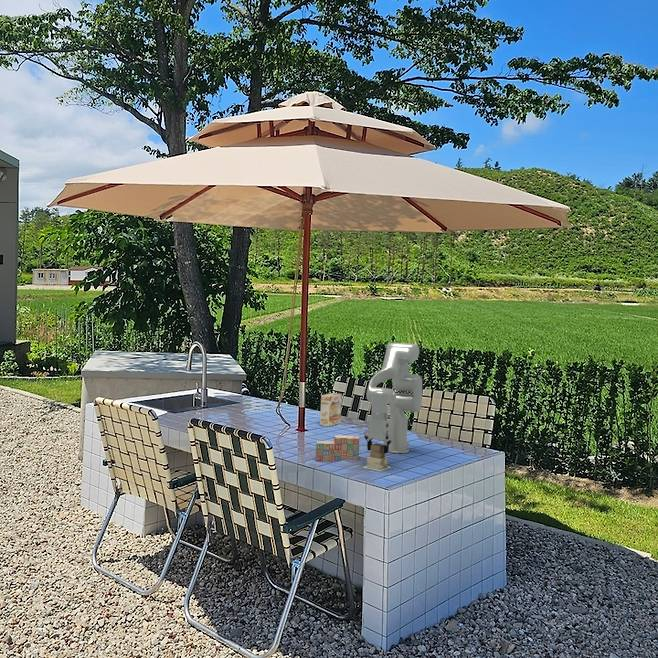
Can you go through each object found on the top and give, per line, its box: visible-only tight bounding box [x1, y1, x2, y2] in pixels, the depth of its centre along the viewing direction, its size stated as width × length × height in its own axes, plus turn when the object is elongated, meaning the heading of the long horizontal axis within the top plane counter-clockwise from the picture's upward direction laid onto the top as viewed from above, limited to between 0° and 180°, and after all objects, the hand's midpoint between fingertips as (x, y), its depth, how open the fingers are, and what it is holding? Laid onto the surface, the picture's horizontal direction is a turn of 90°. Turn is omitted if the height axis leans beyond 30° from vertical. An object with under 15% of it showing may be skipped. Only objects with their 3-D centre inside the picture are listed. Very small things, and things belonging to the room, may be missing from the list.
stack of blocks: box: [315, 434, 360, 462], centre depth 349 cm, size 21×6×12 cm, turn 94°
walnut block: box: [370, 442, 386, 459], centre depth 332 cm, size 5×5×6 cm
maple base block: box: [366, 456, 388, 470], centre depth 333 cm, size 7×7×5 cm
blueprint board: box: [356, 463, 398, 474], centre depth 333 cm, size 14×14×1 cm
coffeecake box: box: [319, 392, 343, 427], centre depth 440 cm, size 15×7×20 cm, turn 148°
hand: (377, 451), depth 332 cm, fingers open, 8 cm apart
